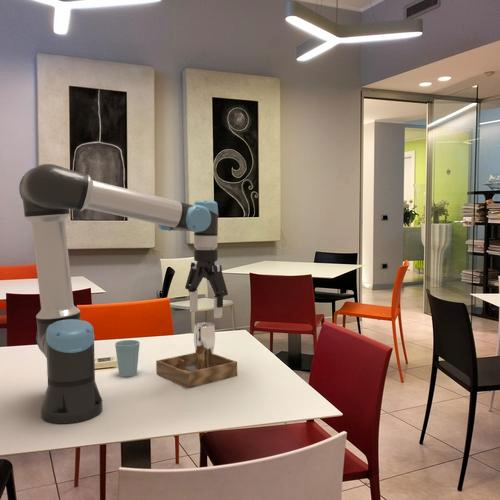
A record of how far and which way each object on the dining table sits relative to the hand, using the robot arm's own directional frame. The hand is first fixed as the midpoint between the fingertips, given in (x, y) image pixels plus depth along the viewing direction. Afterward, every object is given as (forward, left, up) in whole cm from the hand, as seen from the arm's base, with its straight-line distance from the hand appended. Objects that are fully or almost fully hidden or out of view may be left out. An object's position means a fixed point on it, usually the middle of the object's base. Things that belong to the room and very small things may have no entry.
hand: (205, 314), depth 167 cm
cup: (-20, +15, -19) cm, 32 cm away
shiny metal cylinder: (0, +1, -19) cm, 19 cm away
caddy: (-4, 0, -19) cm, 20 cm away
